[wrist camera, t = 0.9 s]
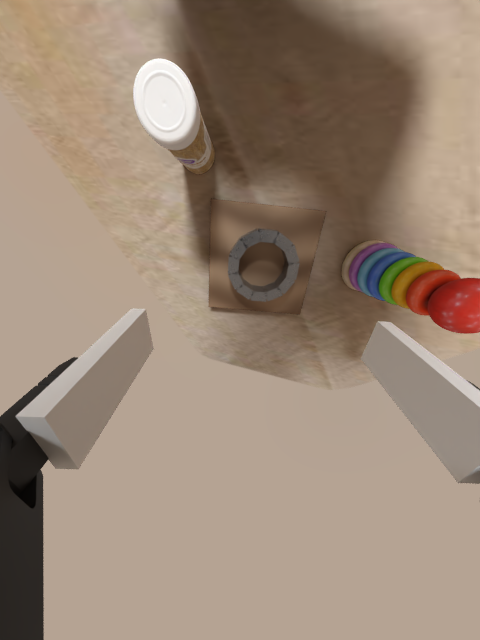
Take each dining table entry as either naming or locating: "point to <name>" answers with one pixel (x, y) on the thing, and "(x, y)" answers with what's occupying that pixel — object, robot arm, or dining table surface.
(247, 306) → the base board
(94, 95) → the dining table surface
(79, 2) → the dining table surface
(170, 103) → the sprinkles bottle
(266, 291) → the collar
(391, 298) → the stacking toy
